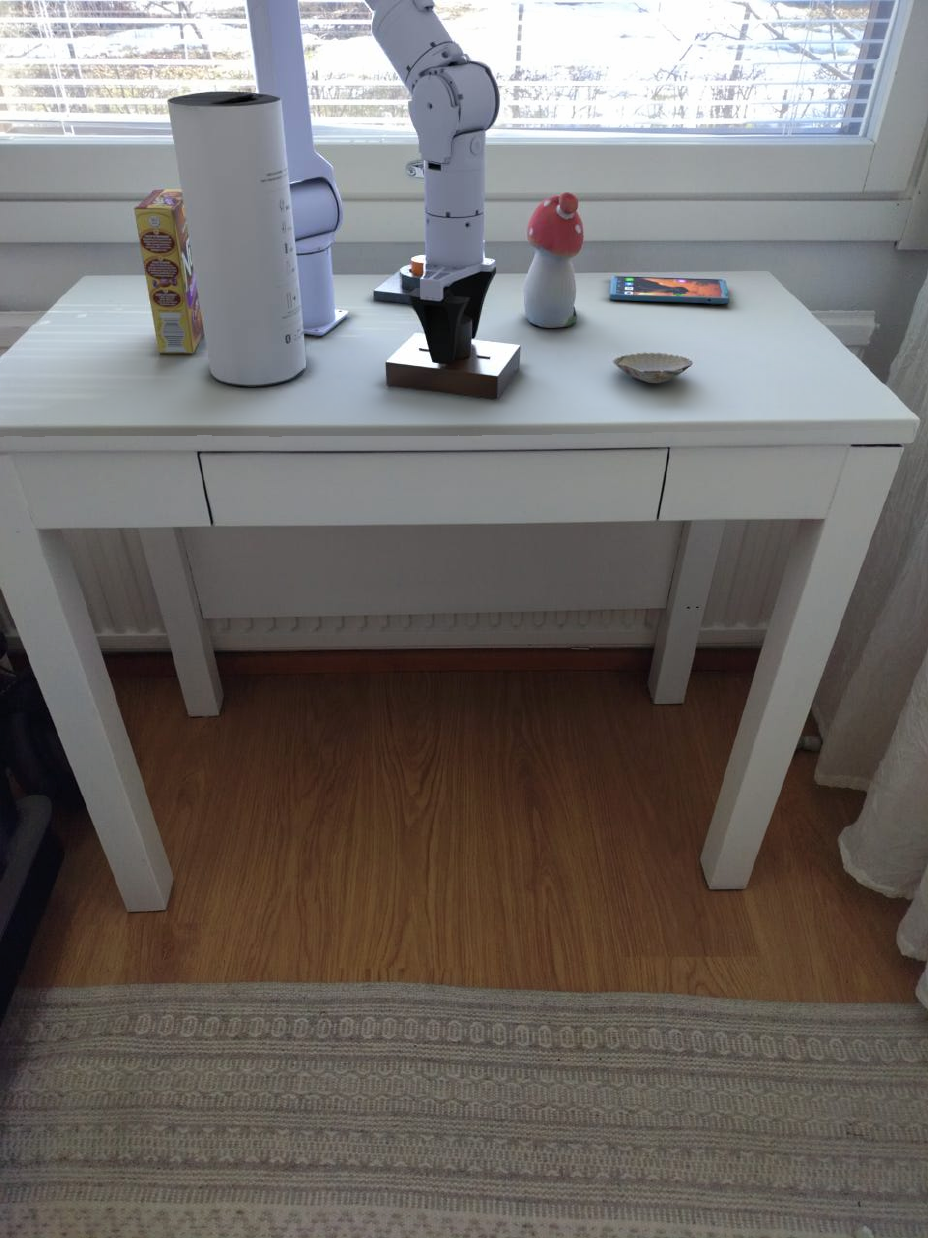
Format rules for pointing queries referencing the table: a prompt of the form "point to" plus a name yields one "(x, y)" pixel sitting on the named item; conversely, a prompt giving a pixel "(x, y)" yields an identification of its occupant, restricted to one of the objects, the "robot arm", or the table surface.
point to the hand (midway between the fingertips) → (454, 349)
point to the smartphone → (669, 289)
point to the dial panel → (454, 368)
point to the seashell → (653, 366)
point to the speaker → (241, 233)
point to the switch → (417, 265)
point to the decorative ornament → (553, 262)
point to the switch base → (398, 286)
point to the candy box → (169, 271)
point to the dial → (464, 338)
